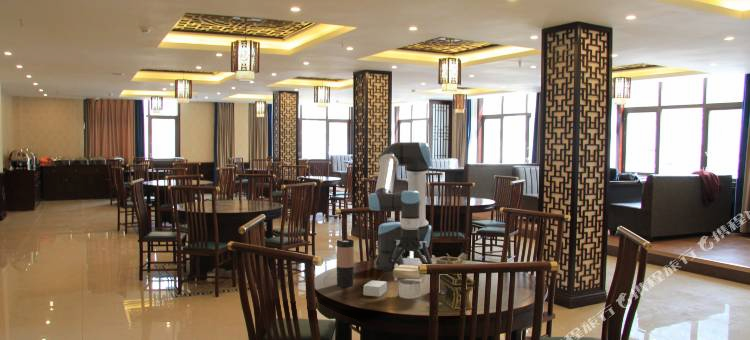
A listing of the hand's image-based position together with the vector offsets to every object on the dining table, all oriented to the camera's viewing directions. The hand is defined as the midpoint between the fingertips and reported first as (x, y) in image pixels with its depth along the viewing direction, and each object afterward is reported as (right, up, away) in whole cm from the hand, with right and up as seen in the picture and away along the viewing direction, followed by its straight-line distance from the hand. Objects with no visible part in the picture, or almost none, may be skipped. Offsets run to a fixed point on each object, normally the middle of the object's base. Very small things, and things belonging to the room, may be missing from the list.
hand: (409, 281), depth 233 cm
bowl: (0, -6, 0) cm, 6 cm away
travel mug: (-28, -6, +18) cm, 34 cm away
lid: (0, +2, 0) cm, 2 cm away
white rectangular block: (-14, -6, +5) cm, 16 cm away
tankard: (+20, -6, +12) cm, 24 cm away
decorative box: (+18, -7, -10) cm, 21 cm away
